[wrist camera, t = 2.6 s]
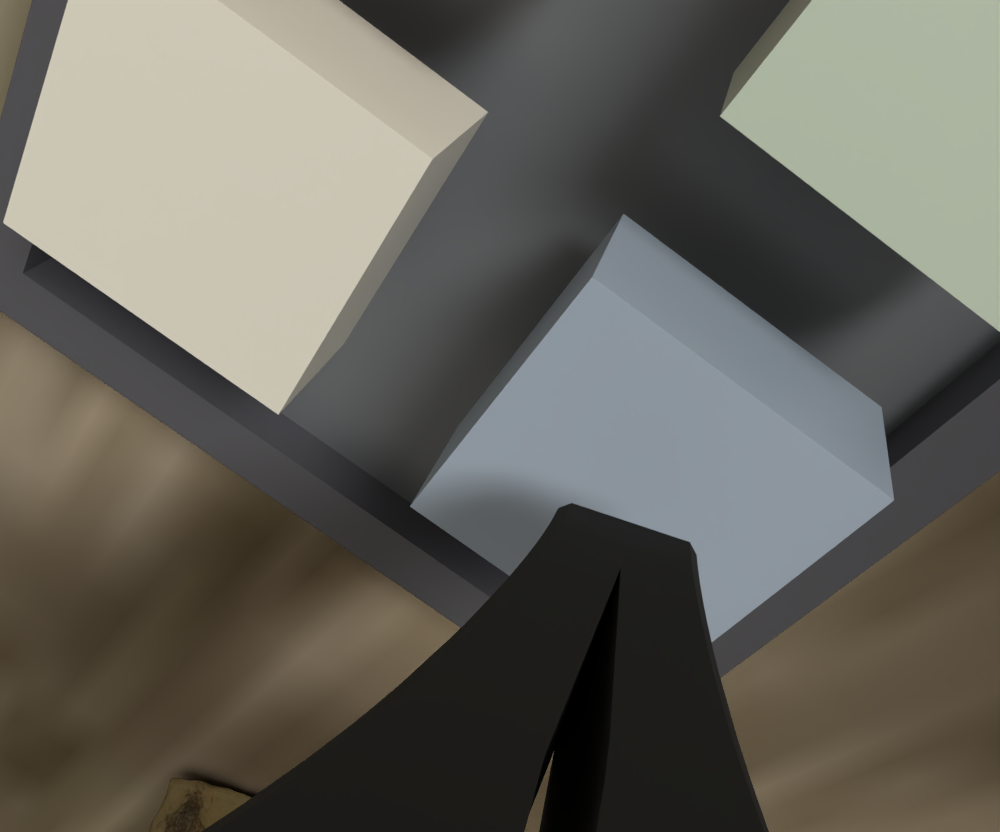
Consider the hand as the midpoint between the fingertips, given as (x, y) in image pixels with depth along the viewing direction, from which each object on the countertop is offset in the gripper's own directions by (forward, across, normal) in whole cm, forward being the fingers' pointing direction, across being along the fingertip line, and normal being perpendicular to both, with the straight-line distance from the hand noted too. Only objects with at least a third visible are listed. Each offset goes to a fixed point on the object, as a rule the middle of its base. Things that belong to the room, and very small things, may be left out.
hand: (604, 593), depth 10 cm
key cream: (+4, +6, -2) cm, 7 cm away
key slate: (+4, 0, 0) cm, 4 cm away
